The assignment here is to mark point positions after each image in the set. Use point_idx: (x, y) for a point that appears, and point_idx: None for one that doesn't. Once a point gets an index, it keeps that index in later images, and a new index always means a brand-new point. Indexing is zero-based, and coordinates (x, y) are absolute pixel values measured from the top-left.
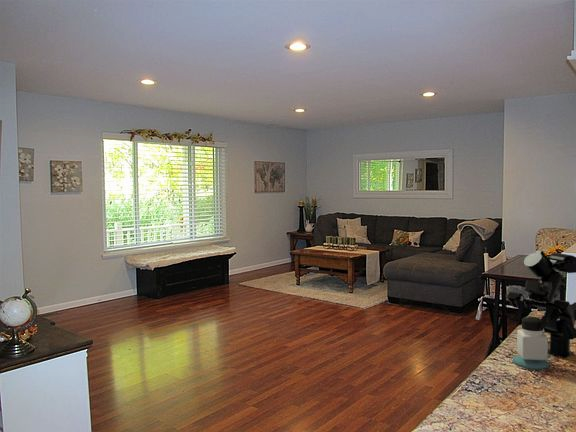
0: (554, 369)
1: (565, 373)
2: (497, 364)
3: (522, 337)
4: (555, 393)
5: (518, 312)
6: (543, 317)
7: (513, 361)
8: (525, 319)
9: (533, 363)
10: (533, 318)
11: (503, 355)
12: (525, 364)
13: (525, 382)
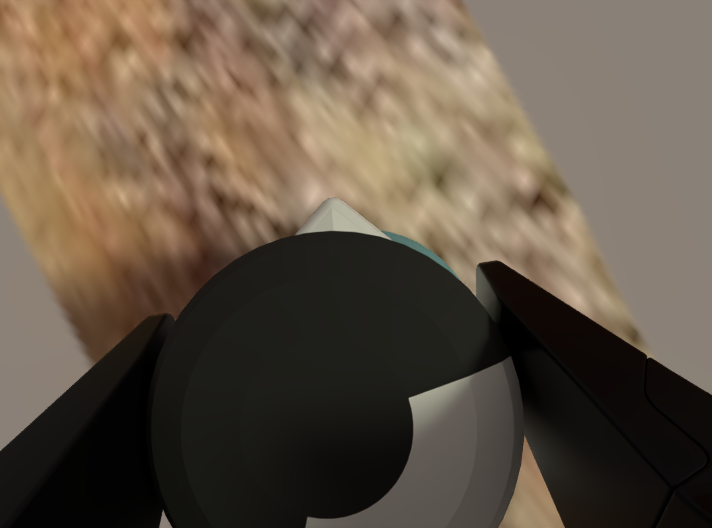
0: None
1: None
2: (456, 136)
3: (349, 207)
4: (21, 72)
5: (660, 365)
6: (43, 461)
7: (426, 249)
8: (376, 270)
9: None
10: (294, 413)
11: None
12: None
13: (187, 55)
